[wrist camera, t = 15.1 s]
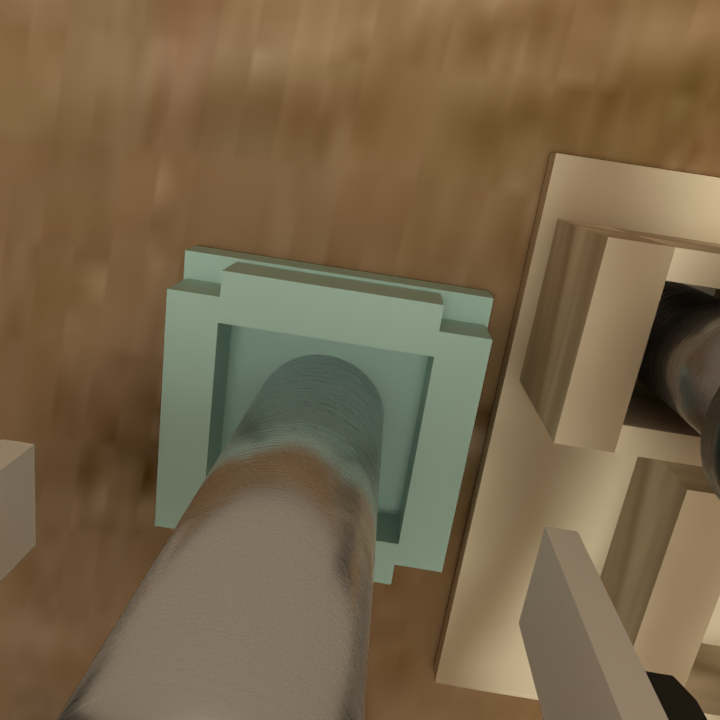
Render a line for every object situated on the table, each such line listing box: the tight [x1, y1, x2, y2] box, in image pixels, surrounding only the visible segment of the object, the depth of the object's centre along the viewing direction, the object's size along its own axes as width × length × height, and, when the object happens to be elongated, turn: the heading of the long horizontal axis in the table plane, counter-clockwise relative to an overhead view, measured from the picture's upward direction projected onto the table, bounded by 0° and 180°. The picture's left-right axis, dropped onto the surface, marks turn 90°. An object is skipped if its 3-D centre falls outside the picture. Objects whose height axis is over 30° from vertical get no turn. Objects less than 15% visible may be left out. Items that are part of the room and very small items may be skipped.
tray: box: [155, 246, 494, 584], centre depth 21 cm, size 10×10×3 cm
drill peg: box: [57, 355, 384, 720], centre depth 15 cm, size 4×4×14 cm
